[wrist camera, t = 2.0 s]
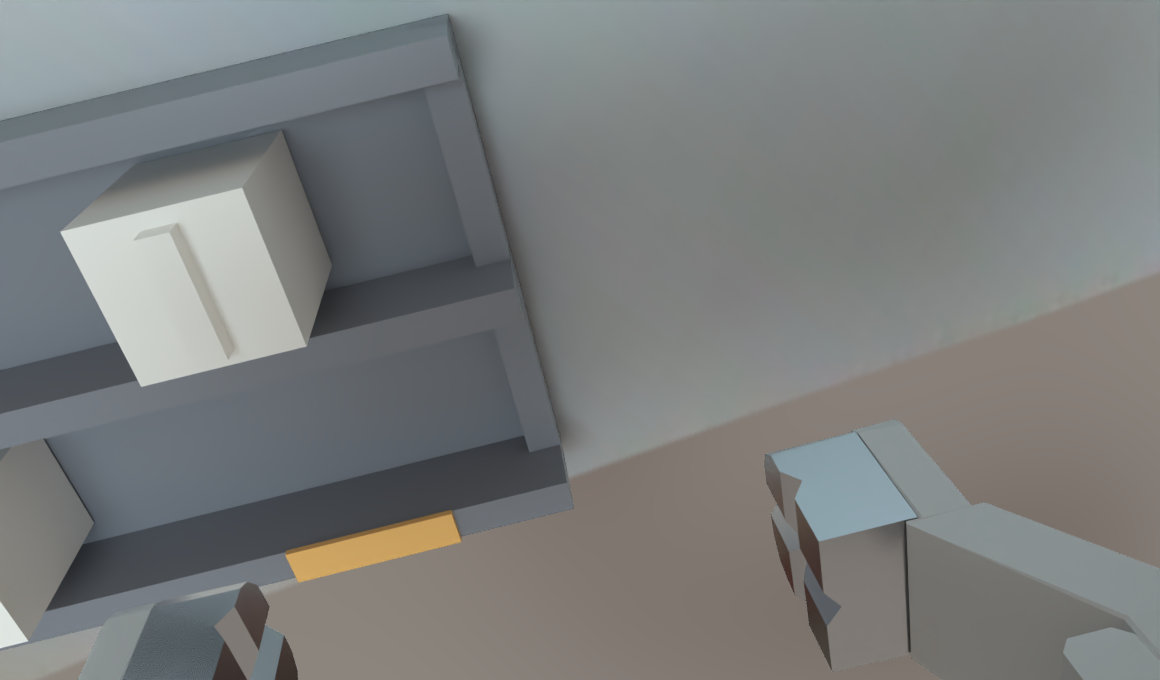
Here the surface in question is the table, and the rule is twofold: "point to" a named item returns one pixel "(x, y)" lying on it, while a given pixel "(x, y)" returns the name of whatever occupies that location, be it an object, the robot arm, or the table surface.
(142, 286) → the white rectangular block
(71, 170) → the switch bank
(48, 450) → the white boxy block
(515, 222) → the table surface
